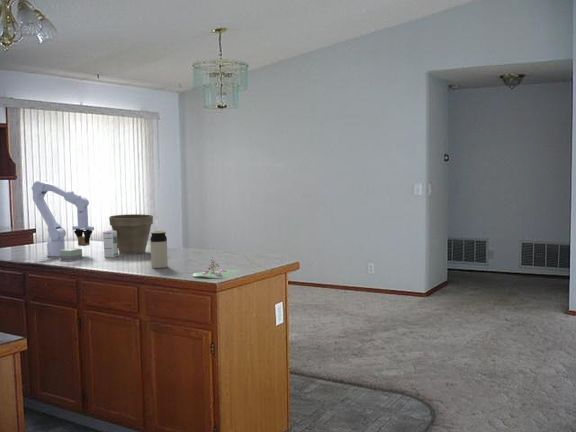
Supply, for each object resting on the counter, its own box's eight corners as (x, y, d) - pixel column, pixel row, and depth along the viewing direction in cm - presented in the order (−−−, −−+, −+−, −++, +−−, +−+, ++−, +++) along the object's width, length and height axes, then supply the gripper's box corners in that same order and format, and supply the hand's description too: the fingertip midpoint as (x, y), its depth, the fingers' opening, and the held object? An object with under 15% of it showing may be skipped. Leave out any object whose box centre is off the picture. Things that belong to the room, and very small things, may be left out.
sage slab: (60, 255, 346) (60, 250, 346) (71, 253, 353) (71, 248, 353) (70, 256, 342) (70, 250, 342) (82, 254, 349) (81, 248, 349)
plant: (217, 269, 309) (217, 251, 308) (251, 272, 298) (251, 253, 297) (182, 277, 288) (182, 258, 287) (218, 281, 277) (217, 261, 276)
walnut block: (78, 245, 361) (77, 237, 360) (83, 244, 365) (83, 236, 364) (84, 246, 359) (83, 237, 358) (89, 245, 363) (89, 236, 362)
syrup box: (113, 257, 353) (112, 231, 351) (103, 257, 354) (102, 231, 353) (118, 255, 358) (117, 230, 357) (108, 255, 359) (107, 230, 358)
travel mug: (168, 267, 313) (167, 231, 311) (152, 269, 310) (150, 232, 309) (166, 265, 320) (165, 230, 319) (150, 266, 318) (149, 231, 316)
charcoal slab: (60, 261, 346) (60, 255, 346) (71, 258, 353) (71, 253, 353) (71, 261, 343) (71, 256, 342) (82, 259, 350) (82, 254, 350)
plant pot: (161, 252, 366) (159, 215, 364) (119, 257, 352) (118, 218, 350) (144, 248, 387) (143, 213, 385) (104, 252, 373) (103, 215, 371)
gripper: (97, 218, 361) (98, 242, 362) (78, 218, 367) (79, 241, 368) (88, 219, 354) (89, 243, 356) (69, 219, 361) (70, 242, 362)
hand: (83, 242), depth 361 cm, fingers closed on walnut block, 4 cm apart
